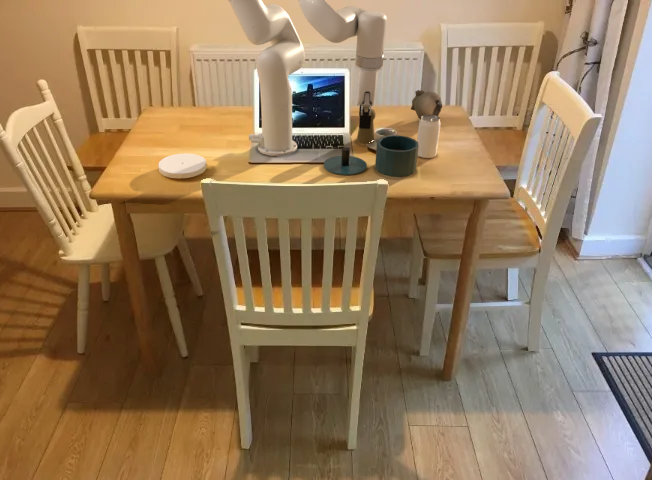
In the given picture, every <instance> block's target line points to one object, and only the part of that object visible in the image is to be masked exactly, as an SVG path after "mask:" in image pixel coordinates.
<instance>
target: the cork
mask: <svg viewBox="0 0 652 480" xmlns="http://www.w3.org/2000/svg"><path fill="white" fill-rule="evenodd" d="M358 117H359V118H360V115H359V114H358ZM375 118H376V111H375V109H373V108H371V126H370V129H360V128H359V127H358V130H357V136H356V142H357V143H359V144H362V145H372V144H373V143H375V141H373V142H371V141H372V140H375V126H374V125H375V123H374V120H375ZM369 142H370V143H369Z"/></svg>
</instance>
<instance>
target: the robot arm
mask: <svg viewBox="0 0 652 480" xmlns="http://www.w3.org/2000/svg"><path fill="white" fill-rule="evenodd" d="M228 2H229V4H230V6H231V8H232V10H233V12H234V14H235V16H236V18H237V20H238V23H239V25H240V26H241V29H242V31H243V33H244V34H245V37H246V39H247V40H248V41H249V42H250V43H251V44H252V45H255V46H261V45H264V44H265V45H266V44H267V43H269V42H270V43H271V45H270V46H268V47H266V48H265V49H264V50H262V51H261V52H260V54H259V55H258V57H257V60H256V72H257V76H258V81H259V91H260V108H261V109H260V111H261V114H260V115H261V133H259V134H251V133H249V134H248V141H251V142H250V143H251V144H257V150H258V152H259V153H261V154H263V155H265V156H270V157H277V156H285V155H286V156H287V155H290V154H292V153H294V152H296V151H297V149H298V143H297V142H296V141H294V140H293V91H292V86H291V83H290V80H289V77H290V75H292V74H293V73H295V72H297V71H299V70H301V68H302V67H303V66H304V64H305V61H306V52H305V51H306V50H305V48H304V45H303V42H302V41H301V38H300V36H299V34H298V31H297V30H296V27H295V26H294V24H293V22H292V20H291V17H290V15H289V14H288V13H287V11H286V10H285V9H284V8H283V6H281V5H279V4H275V3H270V4H265V3H264V2H263V0H228ZM298 3H299V7H300V10H301V11H302V14H303V15H304V17H305V19H306V20H307V23H309V24H310V26H311V27H312V28H313V29H314V30H315V31H316V32H317V33H318V34H319V35H321V37H323V38H324V39H325V40H327V42H330V43H333V44H339V43H342V42H344V41H346V40H348V39H350V38H353V37H356V48H355V49H356V50H355V63H354V67H355V69H358V70H357V71H358V72H357V81H356V95H355V96H356V97H355V103H356V104H355V105H356V106H357V107H359V109H358V111H359V112H358V116H359V115H360V117H359V120H358V121H359V122H358V129H359V128H360V129H370V126H371V109H372V107H374V104H375V99H376V92H377V86H378V75H379V71H381V70H382V69H383V68H384V58H385V47H386V35H387V28H388V27H387V26H388V17H387V16H386V15H387V14H385V13H383V12H381V11H375V10H365V9H362V8H360V7H357V6H353V5H349V6H345V7H342V8H340V9H337V10H336V9H334V7H332V6H331V5H330V4H329V2H327V0H298Z"/></svg>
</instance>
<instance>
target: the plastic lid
mask: <svg viewBox="0 0 652 480" xmlns="http://www.w3.org/2000/svg"><path fill="white" fill-rule="evenodd" d="M207 165H208V164H207V160H206V158H205V157H203V156H201V155H199V154H195V153H189V152H186V153H185V152H184V153H175V154H171V155H168V156H166V157H164V158H162V159H160V160H159V162H158V165H157V167H158V172H159V173H160V174H161V175H162V176H164V177H167V178H170V179H189V178H193V177H197V176H200V175H201V174H203V173H204V172H205V171H206V170H207V167H208V166H207Z"/></svg>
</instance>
